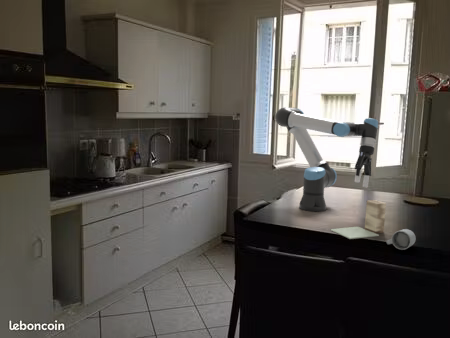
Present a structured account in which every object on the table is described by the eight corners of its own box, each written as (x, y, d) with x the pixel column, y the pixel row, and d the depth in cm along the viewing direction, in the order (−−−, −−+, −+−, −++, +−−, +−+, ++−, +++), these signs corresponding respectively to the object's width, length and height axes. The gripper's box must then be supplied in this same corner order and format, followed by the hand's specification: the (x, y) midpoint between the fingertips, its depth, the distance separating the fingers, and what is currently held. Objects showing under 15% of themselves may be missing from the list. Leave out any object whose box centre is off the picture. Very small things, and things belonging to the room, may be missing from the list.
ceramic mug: (416, 247, 167) (417, 229, 166) (410, 251, 161) (411, 233, 160) (390, 241, 174) (391, 224, 173) (383, 246, 168) (384, 228, 167)
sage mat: (357, 227, 194) (357, 226, 194) (378, 235, 181) (379, 234, 181) (330, 230, 188) (330, 229, 188) (350, 239, 175) (350, 237, 175)
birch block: (372, 228, 193) (375, 200, 191) (383, 232, 187) (386, 203, 185) (364, 229, 191) (366, 200, 189) (375, 233, 185) (377, 203, 183)
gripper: (367, 140, 208) (360, 180, 205) (380, 152, 227) (374, 189, 224) (352, 140, 212) (346, 179, 209) (367, 152, 232) (361, 188, 229)
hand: (361, 184), depth 217 cm, fingers open, 13 cm apart
